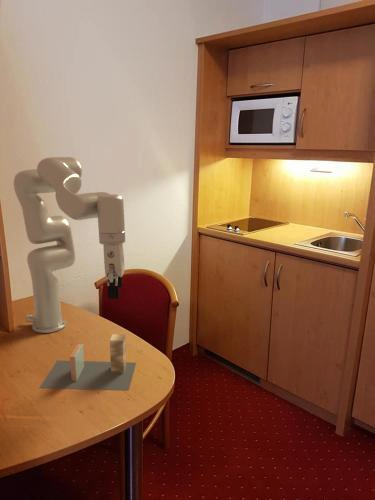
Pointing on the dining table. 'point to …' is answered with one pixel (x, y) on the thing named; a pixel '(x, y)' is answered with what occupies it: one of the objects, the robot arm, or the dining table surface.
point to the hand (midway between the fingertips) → (115, 292)
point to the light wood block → (118, 353)
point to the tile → (77, 362)
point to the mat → (89, 376)
